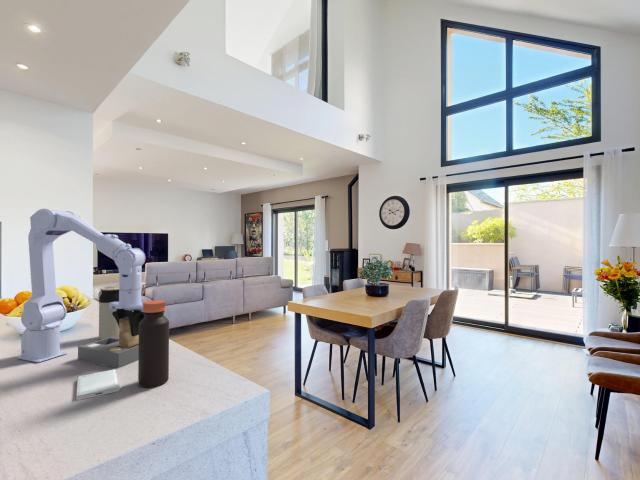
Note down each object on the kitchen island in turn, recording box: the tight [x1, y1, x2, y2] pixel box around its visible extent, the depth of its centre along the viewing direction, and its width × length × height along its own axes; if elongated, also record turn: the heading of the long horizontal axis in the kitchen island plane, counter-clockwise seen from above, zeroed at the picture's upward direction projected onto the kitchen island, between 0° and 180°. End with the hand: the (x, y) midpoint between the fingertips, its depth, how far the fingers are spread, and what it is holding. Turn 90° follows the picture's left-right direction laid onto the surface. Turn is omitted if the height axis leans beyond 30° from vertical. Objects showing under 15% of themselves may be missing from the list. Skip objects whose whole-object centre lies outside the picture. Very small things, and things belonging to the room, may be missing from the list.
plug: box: [119, 317, 139, 348], centre depth 97 cm, size 4×4×8 cm
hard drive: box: [75, 369, 121, 401], centre depth 79 cm, size 2×8×12 cm
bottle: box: [137, 299, 170, 389], centre depth 81 cm, size 7×7×20 cm
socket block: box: [77, 334, 139, 369], centre depth 98 cm, size 16×13×4 cm
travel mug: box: [98, 285, 119, 340], centre depth 117 cm, size 8×8×18 cm
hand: (130, 334), depth 97 cm, fingers closed on plug, 4 cm apart
